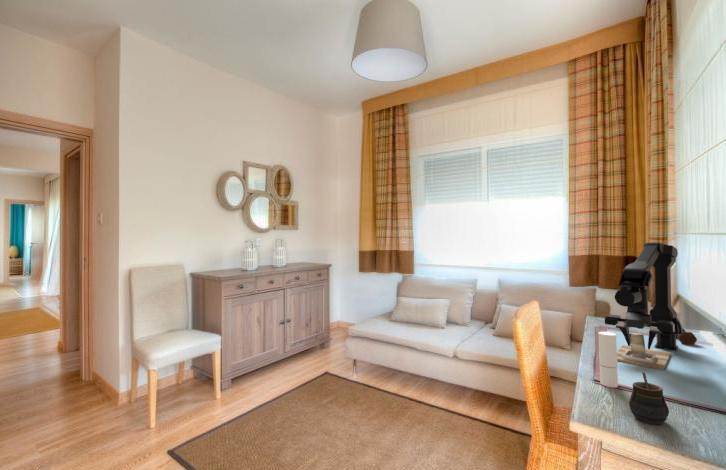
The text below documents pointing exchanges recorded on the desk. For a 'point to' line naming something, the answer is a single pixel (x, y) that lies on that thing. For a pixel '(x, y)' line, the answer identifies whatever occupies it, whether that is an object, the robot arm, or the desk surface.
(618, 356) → the subfloor panel
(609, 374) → the tube
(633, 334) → the beige rounded cylinder
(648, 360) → the collar
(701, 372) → the desk surface
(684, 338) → the brown textured oblong piece
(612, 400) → the desk surface
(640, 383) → the mate gourd
